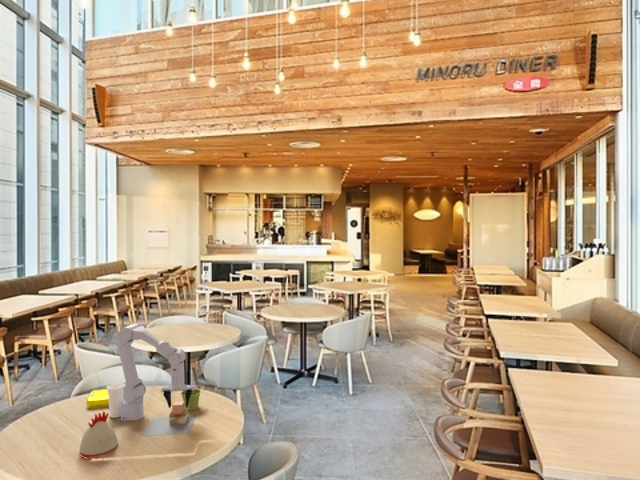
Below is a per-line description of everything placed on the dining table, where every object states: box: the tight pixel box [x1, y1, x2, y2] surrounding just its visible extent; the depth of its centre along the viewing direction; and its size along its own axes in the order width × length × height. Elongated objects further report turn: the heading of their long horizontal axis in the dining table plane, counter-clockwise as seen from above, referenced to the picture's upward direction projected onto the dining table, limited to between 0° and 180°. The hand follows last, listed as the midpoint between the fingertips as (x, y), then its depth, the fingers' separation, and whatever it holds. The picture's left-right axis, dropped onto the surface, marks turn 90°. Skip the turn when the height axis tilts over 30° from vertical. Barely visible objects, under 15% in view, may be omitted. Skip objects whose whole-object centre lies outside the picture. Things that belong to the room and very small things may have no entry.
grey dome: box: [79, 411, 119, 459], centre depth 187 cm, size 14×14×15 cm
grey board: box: [140, 415, 197, 437], centre depth 206 cm, size 20×18×1 cm
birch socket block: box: [168, 408, 189, 424], centre depth 212 cm, size 7×7×4 cm
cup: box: [106, 382, 125, 419], centre depth 220 cm, size 8×8×14 cm
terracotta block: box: [171, 400, 185, 415], centre depth 211 cm, size 4×4×5 cm
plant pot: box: [180, 388, 202, 411], centre depth 226 cm, size 9×9×9 cm
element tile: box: [86, 388, 109, 409], centre depth 237 cm, size 15×15×5 cm
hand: (178, 406), depth 211 cm, fingers open, 7 cm apart
